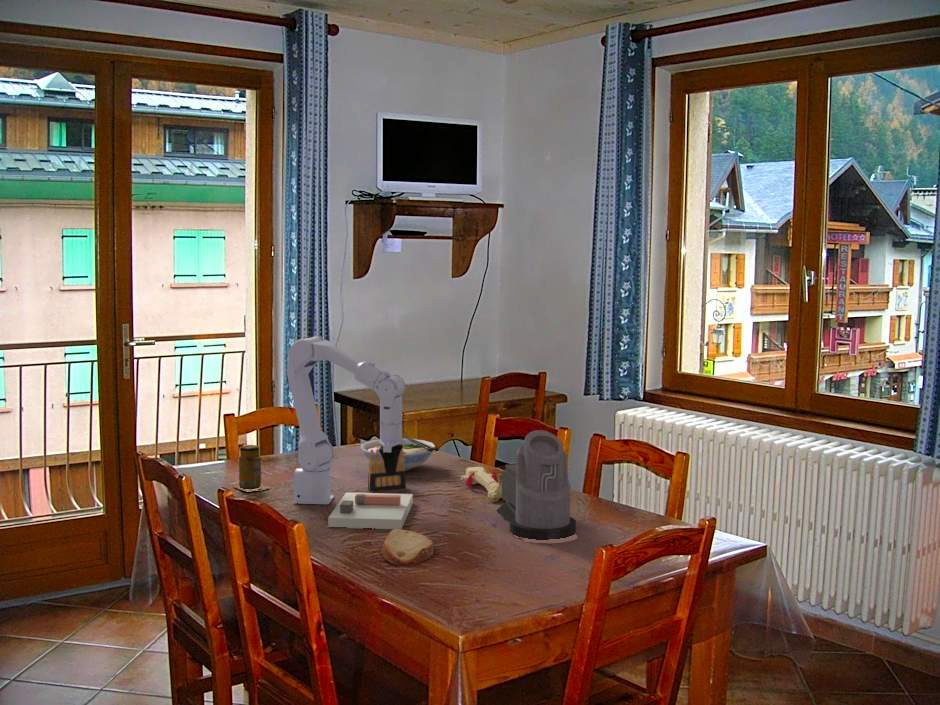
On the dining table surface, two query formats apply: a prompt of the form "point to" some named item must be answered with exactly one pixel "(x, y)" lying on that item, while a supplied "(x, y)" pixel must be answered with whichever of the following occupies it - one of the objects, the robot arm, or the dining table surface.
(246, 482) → the condiment
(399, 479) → the ammunition clip
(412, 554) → the bread slice
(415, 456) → the ramen bowl
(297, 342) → the robot arm
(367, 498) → the bar
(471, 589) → the dining table surface
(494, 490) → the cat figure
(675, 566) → the dining table surface
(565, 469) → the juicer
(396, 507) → the pale square platform
